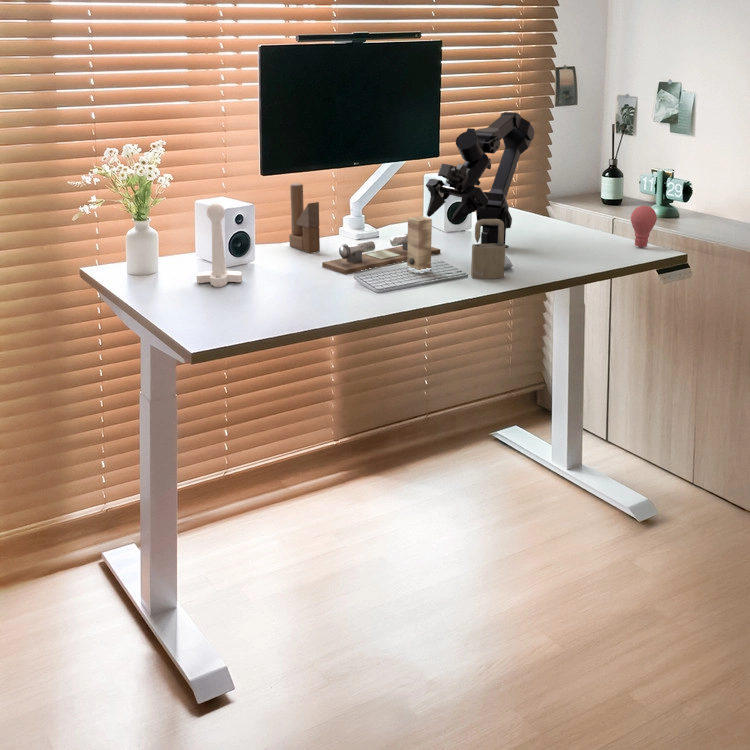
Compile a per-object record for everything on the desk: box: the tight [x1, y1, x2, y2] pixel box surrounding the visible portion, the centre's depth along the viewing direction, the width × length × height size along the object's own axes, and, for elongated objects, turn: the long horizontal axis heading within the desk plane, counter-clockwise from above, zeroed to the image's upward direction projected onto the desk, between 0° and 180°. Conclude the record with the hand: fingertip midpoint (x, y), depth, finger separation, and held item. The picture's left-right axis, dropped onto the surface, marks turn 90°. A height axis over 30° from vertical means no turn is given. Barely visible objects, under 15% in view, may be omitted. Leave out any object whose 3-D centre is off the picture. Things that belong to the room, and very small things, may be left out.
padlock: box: [470, 219, 507, 280], centre depth 249 cm, size 4×8×15 cm, turn 94°
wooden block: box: [288, 182, 321, 254], centre depth 276 cm, size 4×11×18 cm, turn 36°
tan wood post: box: [406, 215, 433, 270], centre depth 254 cm, size 5×4×14 cm
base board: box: [321, 245, 441, 275], centre depth 267 cm, size 34×10×2 cm, turn 130°
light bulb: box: [630, 205, 658, 249], centre depth 278 cm, size 7×7×12 cm
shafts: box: [338, 233, 408, 264], centre depth 266 cm, size 28×4×5 cm, turn 130°
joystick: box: [196, 202, 243, 288], centre depth 242 cm, size 11×8×20 cm
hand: (439, 218), depth 256 cm, fingers open, 9 cm apart
